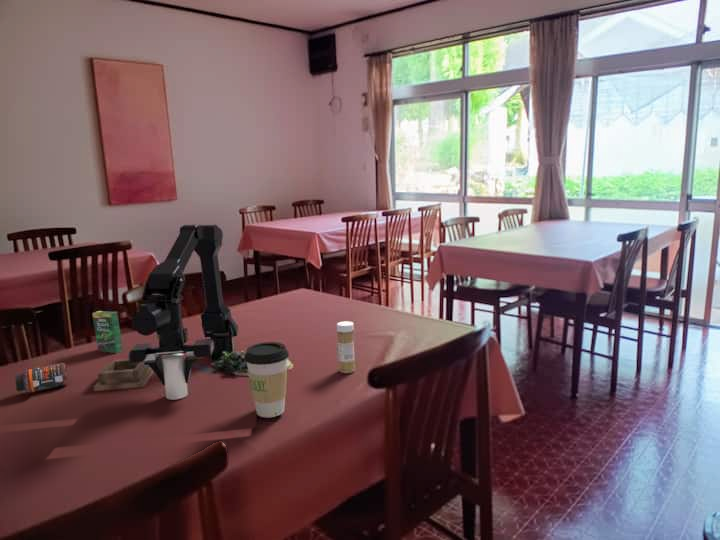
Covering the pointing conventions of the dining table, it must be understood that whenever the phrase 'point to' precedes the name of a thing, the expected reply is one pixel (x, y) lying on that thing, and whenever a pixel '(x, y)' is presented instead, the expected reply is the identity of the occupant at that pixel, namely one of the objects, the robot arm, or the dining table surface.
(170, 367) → the white tapered cylinder
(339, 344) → the sprinkles bottle
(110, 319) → the coffee box
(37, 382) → the supplement bottle
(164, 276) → the robot arm
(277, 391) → the coffee cup
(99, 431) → the dining table surface
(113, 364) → the holder
